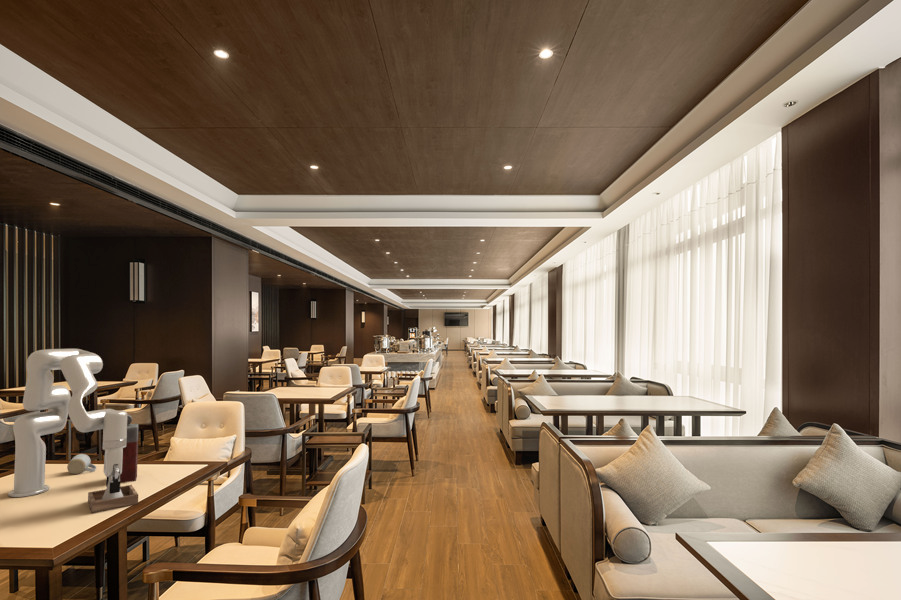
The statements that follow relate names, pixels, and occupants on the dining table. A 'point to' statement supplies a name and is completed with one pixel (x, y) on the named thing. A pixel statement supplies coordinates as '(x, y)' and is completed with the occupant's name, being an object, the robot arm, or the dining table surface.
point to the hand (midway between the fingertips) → (112, 489)
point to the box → (115, 503)
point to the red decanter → (130, 453)
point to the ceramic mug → (80, 464)
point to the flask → (111, 496)
